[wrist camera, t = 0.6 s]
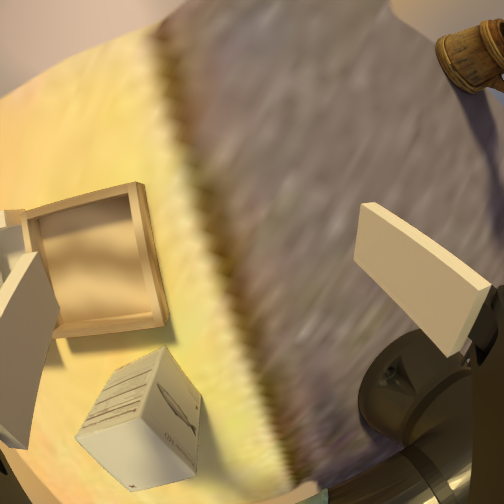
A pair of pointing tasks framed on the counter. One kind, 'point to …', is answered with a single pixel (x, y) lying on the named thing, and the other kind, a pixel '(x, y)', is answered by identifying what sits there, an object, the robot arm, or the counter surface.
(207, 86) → the counter surface
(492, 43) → the wooden mug
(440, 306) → the robot arm
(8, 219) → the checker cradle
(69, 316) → the wooden trough
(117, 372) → the supplement box
